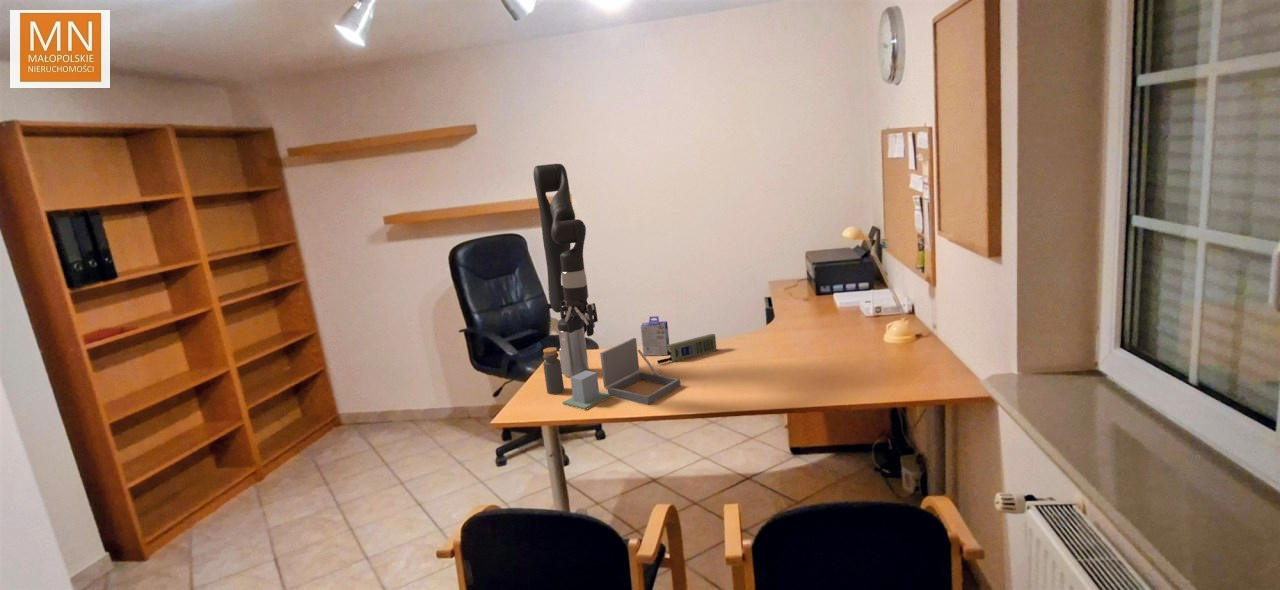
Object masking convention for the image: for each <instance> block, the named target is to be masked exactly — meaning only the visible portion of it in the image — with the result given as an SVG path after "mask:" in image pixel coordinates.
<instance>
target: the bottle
mask: <svg viewBox="0 0 1280 590" xmlns="http://www.w3.org/2000/svg"><path fill="white" fill-rule="evenodd" d="M542 352H543V355H542V357H543V359H544V361H543V362H542V365H543V372H544V373H543V374H544V381H545V387H546V393H547V394H549V395H557V394H561V393H563V392H564V391H565V388H564V387H565V385H564V379H563V378H564V377H563V374H562V369H561V361H560V359H559V358H558V357H559V353H558V348H557V347H546V348H544V349H543V350H542Z"/></svg>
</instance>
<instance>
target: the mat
mask: <svg viewBox="0 0 1280 590" xmlns="http://www.w3.org/2000/svg"><path fill="white" fill-rule="evenodd" d="M599 395H600V396H598V397H596V398H594V399H592V400H590V401H589V402H587V403H585V404H584V403H580V402H576V401H573V396H572V397H570V398H568V399H566V400H563V401H562V405H563V404H564V406H567V405H568V406H567V407H571V406H573V407H572V408H574V407H577V408H576V409H578V408H581V409H580V410H582V409H586V410H588V409H590V408H592V407H593V406H592V405H594V406H596V405H598V404H600V403H601V402H603V400H604V401H605V400H607V399H609V398H611V397H612V396H611V395H610V394H608V393H605V392H601V391H599ZM599 402H600V403H599ZM597 403H598V404H597ZM595 404H596V405H595ZM591 406H592V407H591ZM589 407H590V408H589ZM587 408H588V409H587Z"/></svg>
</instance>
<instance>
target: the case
mask: <svg viewBox="0 0 1280 590" xmlns="http://www.w3.org/2000/svg"><path fill="white" fill-rule="evenodd" d="M637 346H638V344H637V338H636V337H633V338H630V339H629V340H627V341H624V342H622V343H619V344H617V345H614V346H612V347H610V348H608V349H606V350H603V351H602V352H600V353H599V355H600V362H601V371H602V381H603V387H604V388H605V390H607V394H610V395H611V397H613V398H618V399H621V398H622V399H621V400H627V401H631V402H635V403H638V404H643V405H647V406H649V405H652V403H655V402H656V401H658V400H659V399H661V398H663V397H664V396H666V395H668V394H670V393H672V392H673V391H675V390H677V389H678V388H680V387H681V379H680V378H675V377H672V376H665V375H660V373H658V372H657V371H656V369H655V368H654V367H653V365H652V364H651V362H650V361H649V360H648V359H647V356H644V355H643V351H641V349H638V347H637ZM638 353H639V354H640V356H641V357H642V359H643V360H644V362H646V364H647V365H648V367H649V368H650V369H651V371H652V372H653V373H651V372H645V371H642V370H640V365H639V355H638ZM640 381H647V382H650V383H651V382H652V383H655V384H661V385H664V386H662V387H660V388H658V389H656V390H654V391H653V392H651V393H650V394H648V395H645V394H640V393H638V392H637V393H635V392H631V391H627V390H625V389H626V388H629V387H631V386H632V385H634V384H636V383H638V382H640Z"/></svg>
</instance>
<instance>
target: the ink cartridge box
mask: <svg viewBox="0 0 1280 590" xmlns="http://www.w3.org/2000/svg"><path fill="white" fill-rule="evenodd" d="M648 319H649V320H648V321H647V322H642V324H641V325H640V333H641V343H642V346H641V347H642V353H643V355H644V356H645V357H647V356H669V355H668V352H670V351H669V350H668V349H667V348H668V347H669V346H667V345H669V344H670V338H669V337H670V335H669V327H668V321H666V320H665V321H660V319H659V316H656V315H655V316H649V318H648ZM652 319H653V320H652ZM655 319H656V320H655Z"/></svg>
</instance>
